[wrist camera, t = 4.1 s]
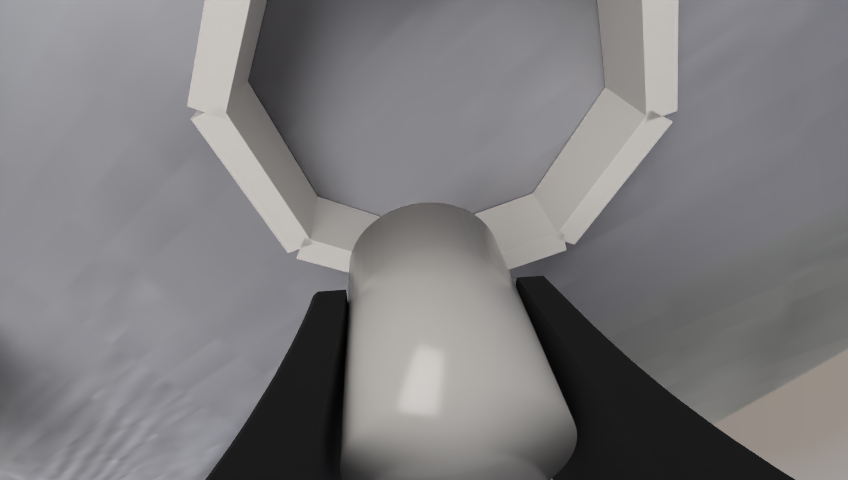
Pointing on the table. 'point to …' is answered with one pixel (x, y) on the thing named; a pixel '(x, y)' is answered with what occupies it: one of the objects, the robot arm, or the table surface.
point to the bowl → (509, 223)
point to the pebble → (444, 358)
